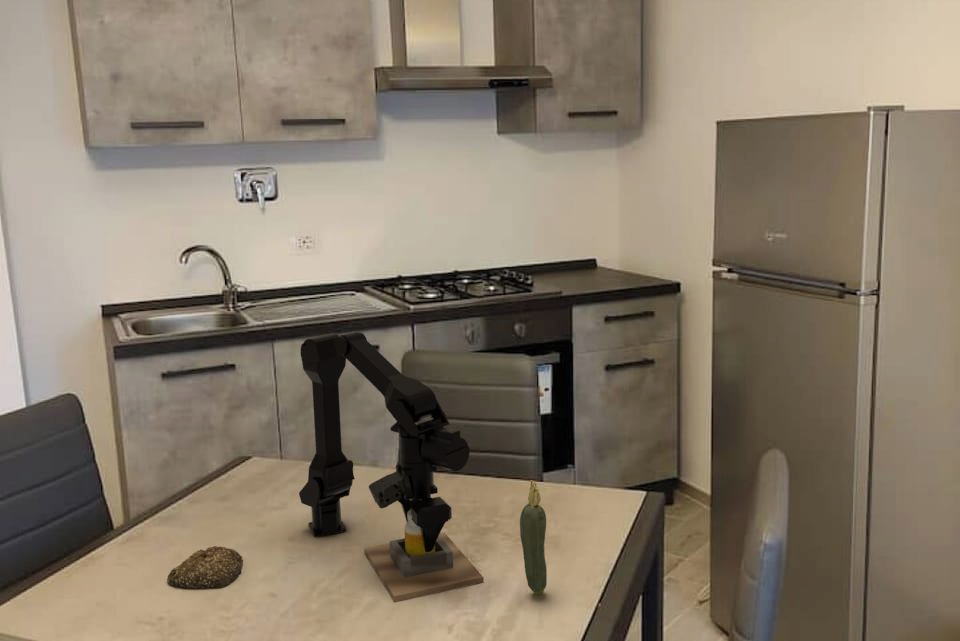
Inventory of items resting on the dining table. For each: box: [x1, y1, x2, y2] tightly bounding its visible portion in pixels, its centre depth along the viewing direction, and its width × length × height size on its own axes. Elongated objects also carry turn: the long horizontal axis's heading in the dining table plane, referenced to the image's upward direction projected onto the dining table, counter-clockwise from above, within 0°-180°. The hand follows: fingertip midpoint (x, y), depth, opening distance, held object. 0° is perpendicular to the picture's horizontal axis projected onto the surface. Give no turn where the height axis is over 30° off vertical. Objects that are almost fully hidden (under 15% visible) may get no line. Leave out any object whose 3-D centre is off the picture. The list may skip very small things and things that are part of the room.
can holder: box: [363, 532, 484, 603], centre depth 157 cm, size 20×16×4 cm
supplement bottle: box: [403, 510, 435, 558], centre depth 157 cm, size 5×5×10 cm
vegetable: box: [519, 479, 548, 596], centre depth 144 cm, size 4×4×20 cm
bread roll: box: [166, 545, 244, 589], centre depth 158 cm, size 13×12×5 cm
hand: (420, 541), depth 157 cm, fingers open, 9 cm apart
